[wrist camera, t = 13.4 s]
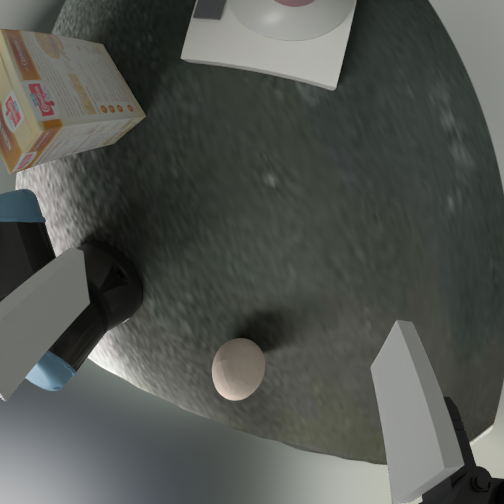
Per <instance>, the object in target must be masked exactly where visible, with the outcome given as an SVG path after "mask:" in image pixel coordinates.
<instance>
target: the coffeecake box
mask: <svg viewBox="0 0 504 504" xmlns="http://www.w3.org/2000/svg"><path fill="white" fill-rule="evenodd" d="M145 117H146V115H145V113H144V112H143V110H142V108H141V107H140V105H139V103H138V102H137V100H136V98H135V97H134V95H133V93H132V92H131V90H130V88H129V87H128V85H127V84H126V82H125V80H124V79H123V77H122V75H121V74H120V72H119V70H118V69H117V67H116V65H115V64H114V62H113V60H112V59H111V57H110V55H109V54H108V52H107V50H106V49H105V47H104V45H103V44H99V43H95V42H90V41H85V40H81V39H76V38H70V37H65V36H59V35H52V34H45V33H38V32H30V31H19V30H7V29H0V155H1V157H2V159H3V161H4V164H5V166H6V168H7V171H8V173H9V174H13V173H16V172H19V171H22V170H25V169H27V168H30V167H33V166H36V165H39V164H42V163H46V162H49V161H52V160H55V159H58V158H62V157H65V156H69V155H72V154H76V153H80V152H83V151H87V150H91V149H95V148H99V147H103V146H107V145H111V144H114V143H115V142H117V141H118V140H119V139H120V138H121V137H122V136H123V135H124V134H125V133H127V132H128V131H129V130H130V129H132V128H133V127H134V126H135V125H136V124H138V123H139V122H140V121H141V120H143V119H144V118H145Z"/></svg>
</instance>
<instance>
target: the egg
mask: <svg viewBox="0 0 504 504" xmlns="http://www.w3.org/2000/svg"><path fill="white" fill-rule="evenodd" d="M264 372H265V358H264V355H263V353H262V351H261V349H260V348H259V346H258V345H257V344H255V343H254V342H253V341H251V340H249V339H246V338H237V339H232V340H230V341H228V342H226V343H225V344H224V345H223V346H222V347H220V349H219V350H218V352H217V353H216V355H215V358H214V361H213V366H212V376H213V381H214V384H215V387H216V389H217V391H218V392H219V393H220V394H221V395H222V396H223V397H225V398H227V399H229V400H242V399H244V398H247V397H248V396H249V395H250V394H252V393H253V392H254V391H255V390H256V388H257V387H258V386H259V385H260V383H261V381H262V379H263V376H264Z"/></svg>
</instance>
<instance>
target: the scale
mask: <svg viewBox="0 0 504 504" xmlns="http://www.w3.org/2000/svg"><path fill="white" fill-rule="evenodd" d="M356 1H357V0H315V1H314V2H312V3H310V4H308V5H305V6H301V7H290V6H285V5H282V4H279V3H277V2H276V1H274V0H196V4H195V7H194V10H193V14H192V17H191V20H190V24H189V28H188V31H187V35H186V39H185V42H184V46H183V50H182V54H181V58H180V59H183V60H185V61H187V62H191V63H200V64H209V65H217V66H224V67H231V68H237V69H243V70H249V71H254V72H260V73H265V74H270V75H274V76H279V77H283V78H288V79H292V80H296V81H300V82H304V83H308V84H311V85H315V86H319V87H322V88H326V89H329V90H332V91H333V90H334V89H336V86H337V82H338V78H339V74H340V70H341V66H342V62H343V58H344V54H345V50H346V45H347V41H348V37H349V33H350V28H351V24H352V19H353V15H354V10H355V6H356Z"/></svg>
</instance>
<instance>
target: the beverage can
mask: <svg viewBox="0 0 504 504" xmlns="http://www.w3.org/2000/svg"><path fill="white" fill-rule="evenodd" d="M274 1H276V2H277V3H279V4H282V5H285V6H290V7H301V6H305V5H308V4H310V3H312V2H314V1H315V0H274Z"/></svg>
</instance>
